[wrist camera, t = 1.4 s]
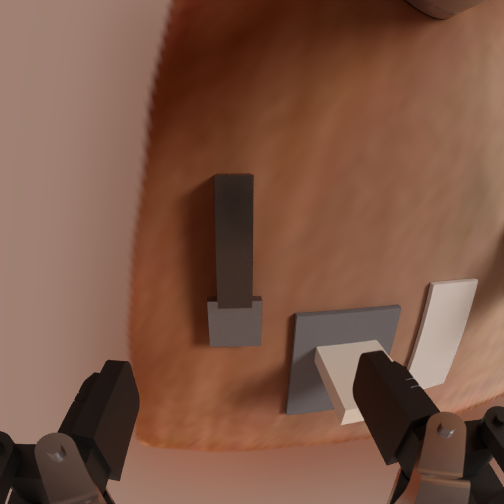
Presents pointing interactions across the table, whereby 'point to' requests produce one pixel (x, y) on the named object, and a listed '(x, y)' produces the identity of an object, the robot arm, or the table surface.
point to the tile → (343, 375)
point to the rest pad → (441, 330)
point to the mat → (325, 334)
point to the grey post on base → (234, 266)
